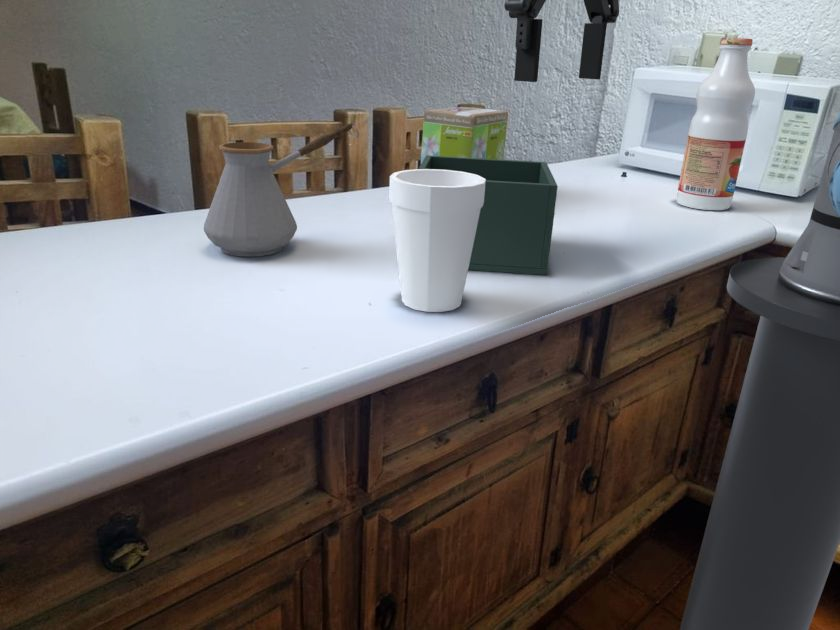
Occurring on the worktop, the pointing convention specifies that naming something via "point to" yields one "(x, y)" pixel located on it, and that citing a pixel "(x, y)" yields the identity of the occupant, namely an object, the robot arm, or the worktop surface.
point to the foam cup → (434, 234)
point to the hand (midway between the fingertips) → (559, 80)
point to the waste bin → (509, 213)
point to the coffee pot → (254, 199)
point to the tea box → (464, 133)
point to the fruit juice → (718, 131)
